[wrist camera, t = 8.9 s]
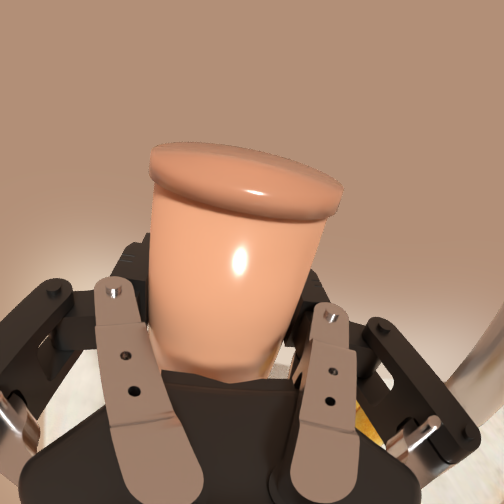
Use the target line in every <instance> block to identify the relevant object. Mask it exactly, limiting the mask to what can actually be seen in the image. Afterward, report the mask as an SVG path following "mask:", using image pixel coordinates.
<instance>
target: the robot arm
mask: <svg viewBox="0 0 504 504" xmlns="http://www.w3.org/2000/svg"><path fill="white" fill-rule="evenodd" d="M149 250H150V233H146V235H145V237H144V239H143V242H142V243H137V242H133V243H132V244H130V245H128V246H127V247H126V248H125V250H124V251H123V253H122V255H121V257H120V259H119V261H118V262H117V264H116V266H115V268H114V270H113V271H112V274H111V275H110V277H106V278H103V279H101V280H99V281H98V282H97V283H96V285H95V287H94V290H90V291H73V290H72V285H71V284H70V283H69V282H68V281H66V280H64V279H60V278H53V279H49V280H46V281H44V282H43V283H41V284H40V285H39V286H38V287H37V288H35V289H34V290H33V291H32V292H31V293H30V294H29V295H28V296H27V297H26V298H25V299H23V300H22V302H20V303H19V304H18V306H16V307H15V308H14V309H13V310H12V311H11V312H10V313H9V314H8V315H7V316H6V317H5V318H4V319H3V320H2V321H1V322H0V473H1V474H2V475H4V476H5V477H6V478H7V479H9V480H10V481H11V482H12V483H14V484H15V485H16V486H18V491H19V498H20V501H21V504H421V489H422V488H423V487H425V486H426V485H427V484H429V483H430V482H431V481H432V480H434V479H435V478H437V477H438V476H440V475H441V474H443V473H444V472H446V471H447V470H449V469H450V468H452V467H453V466H455V465H456V464H458V463H459V462H460V461H462V460H463V459H465V458H466V457H467V456H469V455H470V454H471V453H472V452H474V451H475V450H476V449H477V448H478V447H479V446H480V443H481V434H480V431H479V429H478V427H480V426H481V425H483V424H484V423H485V422H486V421H487V420H488V419H490V418H491V417H492V416H493V415H494V414H495V413H496V412H497V411H498V410H499V409H500V408H501V407H502V406H503V405H504V303H503V305H502V306H501V308H500V309H499V311H498V313H497V314H496V316H495V317H494V319H493V321H492V322H491V324H490V325H489V327H488V328H487V330H486V331H485V332H484V334H483V335H482V337H481V338H480V340H479V341H478V343H477V344H476V345H475V347H474V348H473V349H472V351H471V352H470V353H469V355H468V356H467V357H466V359H465V360H464V361H463V362H462V364H461V365H460V366H459V367H458V368H457V370H456V371H455V372H454V373H453V375H452V376H451V377H450V378H449V379H448V380H447V382H446V383H445V385H444V383H443V382H442V381H441V380H440V378H439V377H438V376H437V375H436V374H435V372H434V371H433V370H432V369H431V368H430V366H429V365H428V364H427V363H426V362H425V360H424V359H423V358H422V357H421V356H420V355H419V353H418V352H417V351H416V350H415V349H414V348H413V346H412V345H411V344H410V343H409V342H408V341H407V339H406V338H405V337H404V336H403V335H402V334H401V333H400V332H399V330H398V329H397V328H396V327H395V326H394V325H393V324H392V323H390V322H389V321H388V320H386V319H383V318H380V317H372V318H370V319H369V321H368V322H367V324H366V326H364V325H361V324H357V323H354V322H350V321H349V317H348V315H347V313H346V312H345V311H344V310H343V309H342V308H341V307H339V306H337V305H335V304H332V303H331V302H330V300H329V298H328V296H327V294H326V292H325V290H324V288H323V287H322V284H321V282H319V278H318V276H317V274H316V273H315V272H314V271H313V270H312V269H311V268H310V271H309V274H308V277H307V279H306V282H305V285H304V288H303V290H302V293H301V296H300V299H299V301H298V304H297V307H296V309H295V312H294V314H293V317H292V320H291V322H290V325H289V327H288V330H287V332H286V335H285V337H284V344H285V347H295V349H296V351H295V353H294V355H293V358H292V362H291V366H290V370H289V374H288V378H287V379H257V380H251V381H245V382H239V383H231V384H230V383H224V382H221V381H217V380H214V379H211V378H207V377H204V376H201V375H197V374H194V373H185V372H177V371H169V370H161V374H160V371H159V368H158V365H157V361H156V358H155V355H154V352H153V349H152V345H151V342H150V338H149V335H148V331H147V326H148V282H149ZM48 335H49V336H48ZM46 336H48V337H47V338H46ZM45 338H46V339H45ZM44 339H45V341H44V342H43V343H42V344H41V342H42V341H43V340H44ZM40 344H41V345H40ZM39 345H40V347H39ZM38 347H39V348H38ZM90 349H97V353H98V361H99V368H100V375H101V382H102V388H103V394H104V399H105V405H104V406H102V407H101V408H100V409H98V410H97V411H96V412H94V413H93V414H92V415H90V416H89V417H87V418H86V419H85V420H83V421H82V422H80V423H79V424H78V425H76V426H75V427H74V428H72V429H71V430H69V431H68V432H66V433H65V434H64V435H62V436H61V437H59V438H58V439H57V440H55V441H54V442H52V443H51V444H49V445H48V446H47V447H45V448H44V449H42V450H41V451H39V452H38V453H37V446H38V441H39V438H40V427H39V424H38V422H37V420H38V418H39V417H40V415H41V413H42V412H43V410H44V409H45V407H46V405H47V404H48V402H49V401H50V399H51V398H52V396H53V395H54V393H55V392H56V390H57V389H58V387H59V386H60V384H61V383H62V381H63V380H64V378H65V377H66V375H67V374H68V372H69V371H70V369H71V368H72V366H73V365H74V364H75V362H76V361H77V359H78V358H79V356H80V355H81V354H82V352H83V350H90ZM381 362H382V363H383V365H384V366H385V367H386V368H387V370H388V371H389V372H390V374H391V375H392V377H393V379H394V386H393V388H392V390H391V391H390V390H389V388H388V387H387V386H386V384H385V383H384V381H383V380H382V379H381V377H380V376H379V375H378V373H377V372H376V369H377V368H378V366H379V365H380V364H381ZM356 400H357V402H358V403H359V405H360V407H361V408H362V410H363V411H364V413H365V414H366V416H367V417H368V419H369V421H370V422H371V424H372V425H373V427H374V428H375V430H376V432H377V433H378V435H379V436H380V438H381V439H382V441H383V443H384V444H385V446H386V450H384V449H383V448H382V447H380V446H379V445H378V444H376V443H375V442H374V441H372V440H371V439H370V438H369V437H367V436H366V435H365V434H363V433H362V432H361V431H360V430H358V429H357V428H356V427H355V416H356Z"/></svg>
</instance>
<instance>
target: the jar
mask: <svg viewBox="0 0 504 504" xmlns="http://www.w3.org/2000/svg"><path fill="white" fill-rule="evenodd" d="M149 176H150V177H151V179H152V180H153V181H154V182H155V184H154V185H155V186H154V195H153V206H152V218H151V232H150V250H149V282H148V325H149V338H150V342H151V345H152V349H153V352H154V355H155V358H156V361H157V365H158V368H159V371H160V374H161V370H169V371H177V372H185V373H194V374H197V375H201V376H204V377H207V378H211V379H214V380H217V381H221V382H224V383H230V384H231V383H239V382H245V381H251V380H257V379H268V376H269V374H270V372H271V369H272V367H273V364H274V362H275V360H276V357H277V355H278V352H279V350H280V347H281V345H282V342H283V340H284V337H285V335H286V332H287V330H288V327H289V325H290V322H291V320H292V317H293V314H294V312H295V309H296V307H297V304H298V301H299V299H300V296H301V293H302V290H303V288H304V285H305V282H306V279H307V277H308V274H309V271H310V268H311V265H312V262H313V260H314V257H315V254H316V251H317V248H318V245H319V242H320V239H321V236H322V233H323V230H324V227H325V224H326V221H327V218H328V217H330V216H332V215H334V214H335V213H336V212H337V210H338V207H339V204H340V201H341V197H342V194H343V191H344V188H343V186H342V185H341V184H340V183H339V182H338V181H337V180H335V179H334V178H332V177H330V176H329V175H327V174H325V173H323V172H321V171H319V170H317V169H314V168H312V167H309V166H307V165H304V164H301V163H299V162H296V161H293V160H290V159H287V158H283V157H280V156H277V155H272V154H268V153H265V152H261V151H256V150H252V149H247V148H242V147H236V146H229V145H222V144H213V143H200V142H174V143H165V144H161V145H157V146H155V147H153V148H152V150H151V157H150V165H149Z"/></svg>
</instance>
